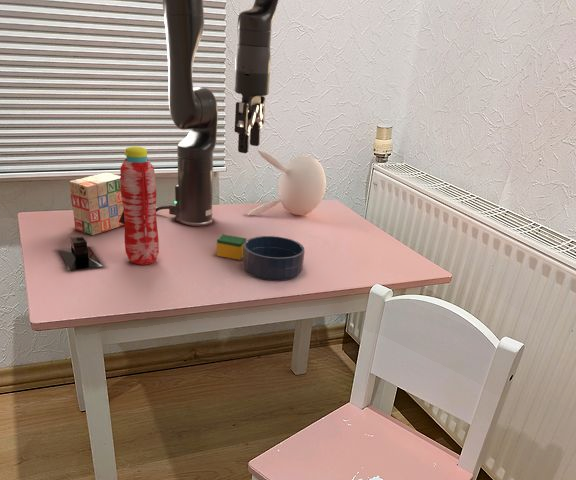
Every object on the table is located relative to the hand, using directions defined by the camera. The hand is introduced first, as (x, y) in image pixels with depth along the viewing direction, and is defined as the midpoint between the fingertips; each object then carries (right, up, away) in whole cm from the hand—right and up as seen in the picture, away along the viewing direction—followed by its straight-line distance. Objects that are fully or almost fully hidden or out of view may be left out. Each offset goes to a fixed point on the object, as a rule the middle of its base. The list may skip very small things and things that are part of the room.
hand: (248, 148), depth 132 cm
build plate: (-39, -26, 0) cm, 46 cm away
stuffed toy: (+9, -4, +40) cm, 41 cm away
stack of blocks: (-37, -11, +21) cm, 44 cm away
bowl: (+5, -27, +4) cm, 28 cm away
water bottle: (-26, -25, +3) cm, 36 cm away
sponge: (-5, -22, +10) cm, 25 cm away
